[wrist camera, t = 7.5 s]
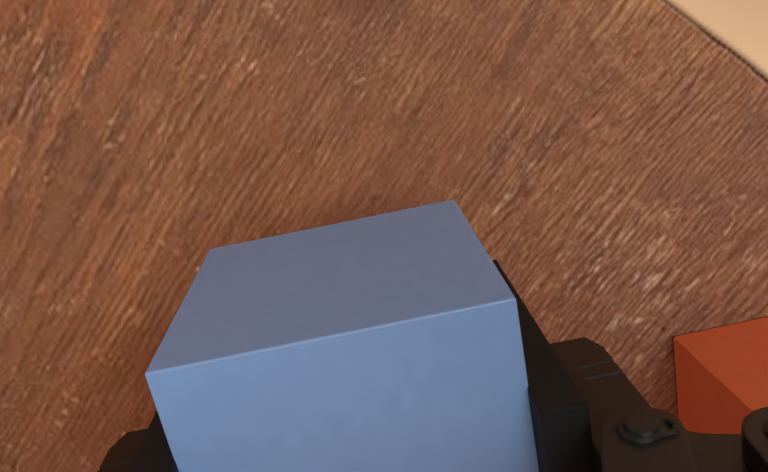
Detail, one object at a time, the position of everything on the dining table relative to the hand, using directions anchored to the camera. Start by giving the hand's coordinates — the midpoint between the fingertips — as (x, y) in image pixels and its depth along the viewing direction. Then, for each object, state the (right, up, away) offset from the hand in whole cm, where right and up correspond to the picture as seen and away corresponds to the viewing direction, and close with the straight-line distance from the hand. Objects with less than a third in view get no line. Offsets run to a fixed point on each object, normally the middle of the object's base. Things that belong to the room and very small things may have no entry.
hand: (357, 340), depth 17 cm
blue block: (0, 0, 0) cm, 0 cm away
